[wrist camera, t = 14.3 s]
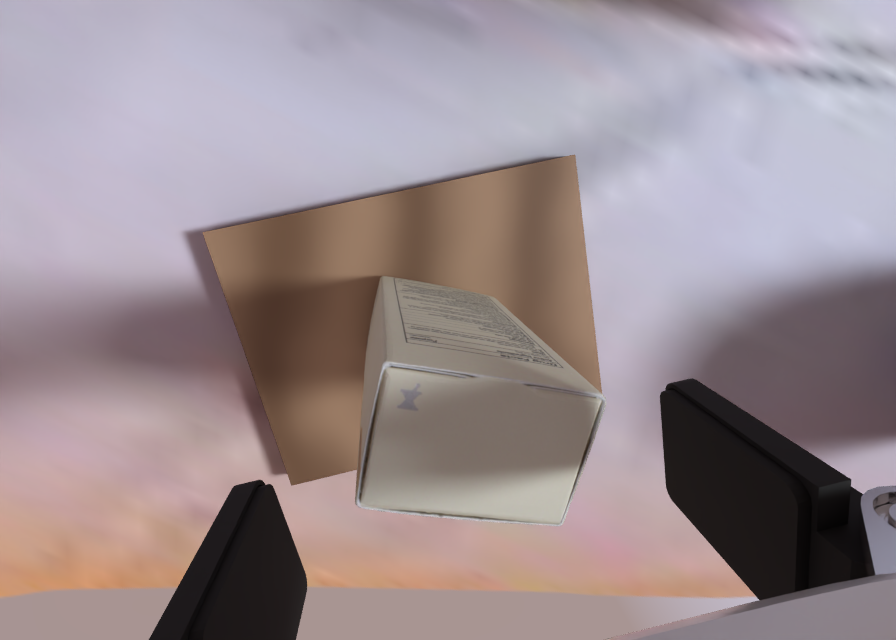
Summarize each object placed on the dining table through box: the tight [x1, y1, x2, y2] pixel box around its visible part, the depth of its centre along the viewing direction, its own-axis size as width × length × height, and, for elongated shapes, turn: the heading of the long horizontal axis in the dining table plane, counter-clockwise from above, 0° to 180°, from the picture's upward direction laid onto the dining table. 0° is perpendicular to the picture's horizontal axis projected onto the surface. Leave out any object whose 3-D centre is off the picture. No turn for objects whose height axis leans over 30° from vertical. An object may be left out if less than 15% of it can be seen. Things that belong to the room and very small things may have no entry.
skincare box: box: [355, 276, 606, 526], centre depth 18 cm, size 6×4×12 cm
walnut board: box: [202, 155, 602, 485], centre depth 24 cm, size 18×14×1 cm
